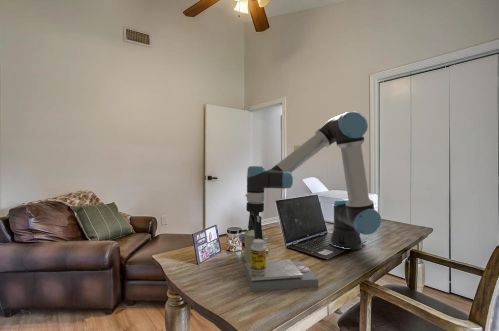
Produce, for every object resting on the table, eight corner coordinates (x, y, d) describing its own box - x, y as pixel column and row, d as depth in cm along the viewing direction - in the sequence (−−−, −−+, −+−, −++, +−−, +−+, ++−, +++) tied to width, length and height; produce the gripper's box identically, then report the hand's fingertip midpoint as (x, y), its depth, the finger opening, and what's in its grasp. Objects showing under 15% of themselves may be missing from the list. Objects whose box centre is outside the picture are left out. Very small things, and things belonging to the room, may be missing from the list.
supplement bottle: (249, 271, 87) (249, 242, 87) (251, 265, 93) (251, 237, 92) (265, 273, 86) (265, 243, 86) (266, 266, 92) (266, 238, 92)
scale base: (301, 267, 100) (301, 259, 100) (318, 286, 85) (318, 277, 85) (244, 271, 96) (244, 263, 96) (251, 291, 81) (251, 282, 81)
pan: (290, 261, 98) (290, 259, 98) (302, 277, 85) (302, 274, 85) (245, 264, 95) (245, 262, 95) (251, 280, 82) (251, 278, 82)
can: (263, 264, 103) (264, 235, 102) (241, 262, 104) (242, 233, 104) (266, 256, 112) (267, 229, 111) (246, 254, 114) (246, 228, 113)
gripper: (242, 197, 119) (241, 242, 120) (251, 207, 95) (250, 263, 95) (258, 197, 120) (257, 241, 121) (271, 207, 96) (270, 262, 96)
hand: (254, 251), depth 108 cm, fingers open, 13 cm apart
